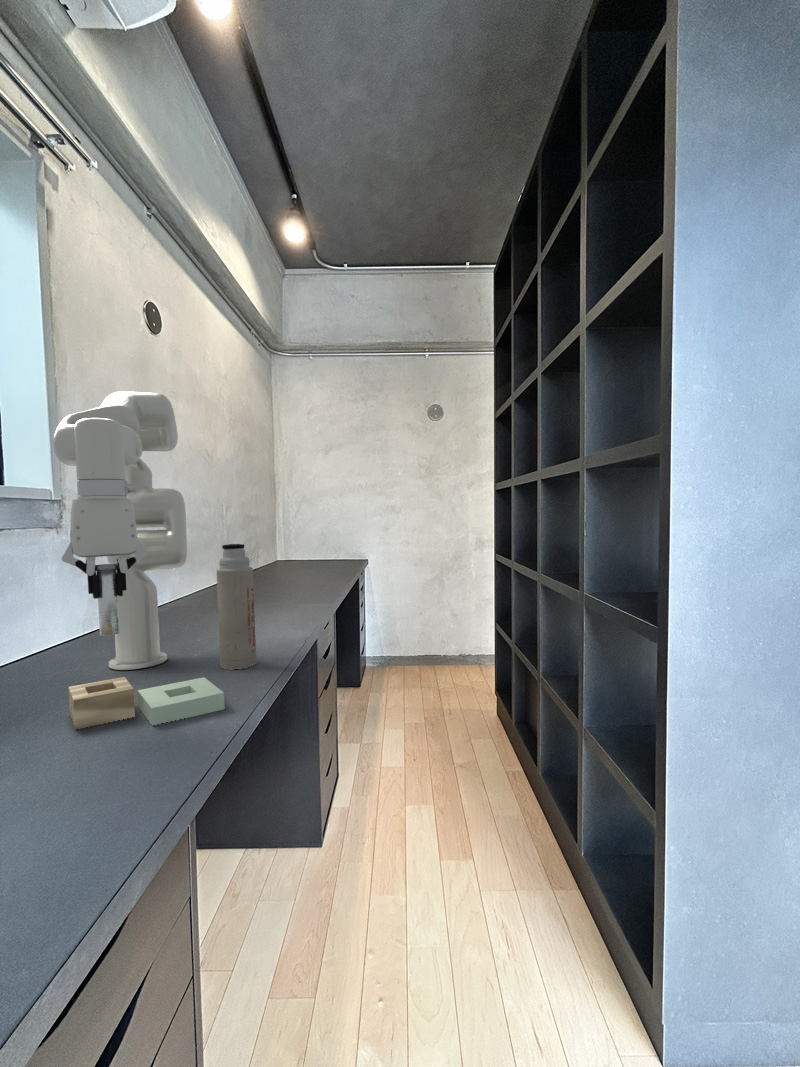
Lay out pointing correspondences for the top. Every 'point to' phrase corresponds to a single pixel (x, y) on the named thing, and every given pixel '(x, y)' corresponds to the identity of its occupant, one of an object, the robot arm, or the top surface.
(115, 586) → the pin
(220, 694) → the dock
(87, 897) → the top surface
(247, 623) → the thermos bottle
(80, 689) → the frame
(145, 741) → the top surface
